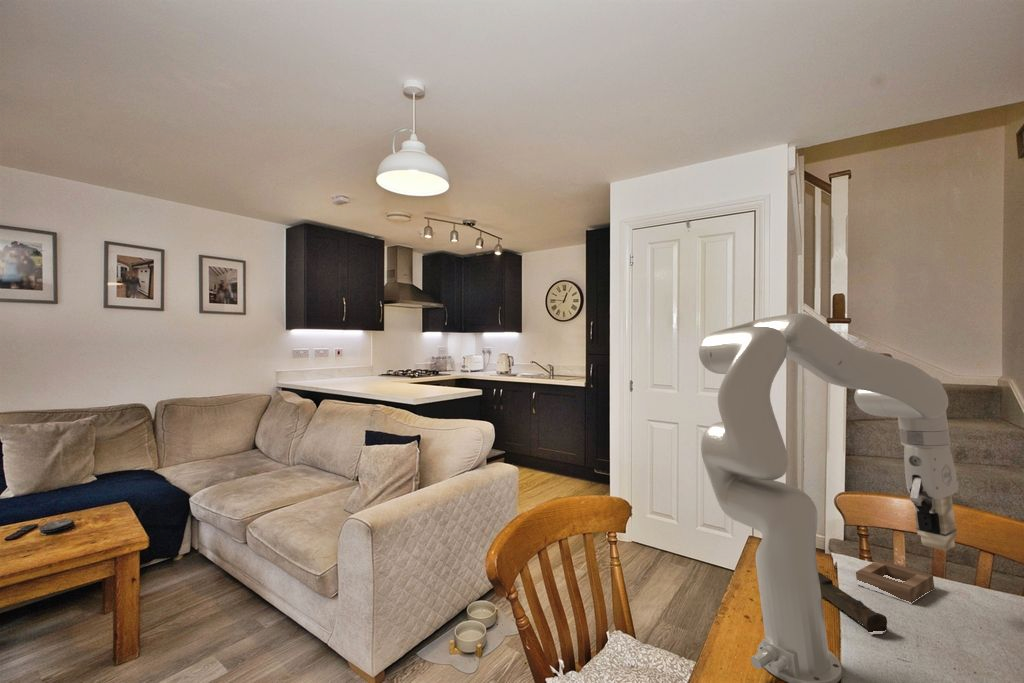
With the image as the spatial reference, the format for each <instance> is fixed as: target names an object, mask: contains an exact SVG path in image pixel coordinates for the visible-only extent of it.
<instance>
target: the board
mask: <svg viewBox="0 0 1024 683" xmlns="http://www.w3.org/2000/svg"><path fill="white" fill-rule="evenodd" d="M884 575H888V576H890V577H892V578H895V579H900V580H902V581H905V582H903V583H902V582H898V581H895V580H892V579H889V578H886V577H883V576H884ZM855 576H856V577H855V578H856V581H857V580H859V581H862V582H864V583H868V584H870V585H873V586H875V587H878V588H879V589H881V590H883V591H886V592H888V593H890V594H892V595H894V596H896V597H898V598H900V599H903V600H906V601H909V602H911V603H912V602H913V601H915V600H916V599H918V598H919V597H921V596H922V595H924V594H925V593H927V592H929V591H931V590H933V589H936V588H935V583H934V576H933V574H930V573H925V572H923V571H920V570H916V569H913V568H909V567H906V566H903V565H899V564H896V563H893V562H888V561H885V560H882V559H878V560H876V561H874V562H872V563H870V564H868V565H866V566H864V567H863V568H861V569H859V570H856V571H855ZM933 591H934V590H933Z"/></svg>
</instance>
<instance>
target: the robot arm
mask: <svg viewBox="0 0 1024 683" xmlns="http://www.w3.org/2000/svg"><path fill="white" fill-rule="evenodd" d="M698 355H699V360H700V362H701V364H702V365H703V367H704V368H706V370H708V371H710V372H712V373H714V374H719V375H724V377H723V379H722V382H721V384H720V386H719V389H718V394H717V406H718V411H719V415H720V418H721V421H719V422H714V423H713V424H711V425H709V427H707V429H706V430H705V431H704V433H703V435H702V438H701V444H700V450H701V456H702V457H701V458H702V461H703V464H704V467H705V470H706V473H707V475H708V478H709V481H710V484H711V487H712V489H713V492H714V496H715V498H716V501H717V503H718V506H719V507H720V509H721V510H722V511H723V513H724V514H725V515H726V516H727V517H729V519H732V520H734V521H735V522H737V523H740V524H741V525H744V526H747V527H750V528H752V529H754V530H756V531H758V532H760V533H761V536H762V537H761V540H760V543H759V545H758V547H757V548H756V552H755V566H756V573H757V582H758V591H759V597H760V605H761V614H762V621H763V622H762V623H763V629H764V630H763V631H764V638H762V641H760V643H759V644H758V646H757V653H756V654H754V655H752V656H751V657H750V662H751V664H752V666H753V667H754V668H755V669H756V670H761V669H762V668H764V669H766V670H767V672H769V673H770V674H772V675H773V676H775V677H776V678H778V679H780V680H782V681H784V682H787V683H839V682H840V680H841V679H842V676H843V669H842V665H841V664H842V663H841V662H840V660H839V659H838V657H837V656H836V655H835V654H834V653H833V652H832V651H830V650H829V645H828V638H827V637H828V636H827V630H826V624H825V615H824V607H823V599H822V598H821V590H820V583H819V576H818V572H819V571H818V570H819V569H818V561H817V549H816V546H817V545H816V544H817V542H816V541H817V533H818V532H817V530H818V521H819V518H818V515H819V514H818V510H817V506H816V505H815V502H814V500H813V499H812V498H811V497H810V496H809V494H807V493H806V492H804V490H801V488H798V487H796V486H794V485H792V484H787V483H784V482H781V481H777V480H778V479H781V478H782V477H784V476H785V474H786V473H787V471H788V469H789V456H788V452H787V448H786V445H785V443H784V442H785V441H784V439H783V436H782V434H781V429H780V427H779V424H778V422H777V419H776V415H775V413H774V410H773V405H772V403H771V390H772V385H773V382H774V380H775V378H776V376H777V374H778V371H779V370H780V368H781V367H782V365H783V363H784V361H785V360H786V359H789V360H791V361H793V362H794V363H796V364H798V365H800V366H801V367H802V368H804V369H805V370H807V371H809V372H811V373H812V374H813V375H815V376H816V377H818V378H819V379H821V380H822V381H824V382H826V383H827V384H831V385H834V386H839V387H842V388H847V389H851V390H855V391H854V396H853V398H854V402H855V404H856V406H857V407H858V409H859V410H861V411H862V412H864V413H866V414H868V415H871V416H875V417H885V418H886V417H887V418H897V422H898V431H899V438H900V444H901V446H903V449H904V450H903V457H904V460H903V461H904V465H903V466H904V477H905V482H906V489H907V492H908V493H909V494H910V496H909V500H910V502H911V503H913V506H914V505H915V510H916V511H917V518H918V525H919V530H921V531H925V532H929V533H933V534H940V525H939V518H938V514H937V513H935V499H937V500H939V499H942V498H944V497H947V496H949V495H951V496H952V495H954V494H956V493H957V492H958V491H959V481H958V477H957V472H956V467H955V466H956V465H955V460H954V458H953V454H952V451H951V439H950V431H949V423H948V417H947V415H948V414H947V409H948V408H949V397H948V394H947V391H946V390H945V388H944V386H943V383H942V381H941V380H940V379H938V378H936V377H932V376H931V375H930V374H929V373H927V372H926V371H924V370H923V369H921V368H920V367H918V366H916V365H914V364H912V363H909V362H907V361H904V360H901V359H898V358H895V357H893V356H892V357H891V356H888V355H885V354H882V353H879V352H875V351H873V350H868V349H866V348H862V347H858V346H857V345H855V344H853V343H852V342H851V341H849V340H848V339H846V338H845V337H843V336H842V335H841V334H839V333H837V332H836V331H835V330H833V329H832V328H830V327H829V326H828V325H826V324H825V323H823V322H822V321H820V320H818V319H817V318H816V317H813V316H811V315H809V314H807V313H798V312H797V313H788V314H782V315H776V316H769V317H768V316H767V317H764V318H759V319H755V320H750V321H748V322H746V323H743V324H739V325H736V326H732V327H728V328H724V329H721V330H720V329H719V330H716V331H713V332H711V333H710V334H708V335H706V336H705V337H704V338H703V340H702V341H701V342H700V345H699V349H698ZM922 493H927V494H928V496H923V495H922ZM923 499H927V500H929V505H928V503H927V502H926V501H923ZM915 510H914V511H915Z"/></svg>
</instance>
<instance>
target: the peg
mask: <svg viewBox="0 0 1024 683" xmlns="http://www.w3.org/2000/svg"><path fill="white" fill-rule="evenodd" d="M922 495H923V496H928V494H927V493H922ZM952 497H953V496H952V495H949V496H947V497H944V498H942V499H939V500H937V499H935V513H937V514H938V518H939V525H940V534H933V533H929V532H925V531H921V530H919V525H918V518H917V511H916V510H915V505H914V504H913V508H914V510H913V511H914V517H915V524H916V525H915V527H916V528H915V529H916V532H917V536H920V539H921V540H920V541H921V545H922V546H925V547H929V548H933V549H937V550H941V551H945V552H947V551H949V550H951V549H953V548H955V547H956V543H955V538H956V537H957V536H958V534H957V527H956V521H955V511H954V505H953V498H952ZM923 501H926V502H927V503H928V505H929V500H927V499H923Z"/></svg>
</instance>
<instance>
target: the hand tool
mask: <svg viewBox="0 0 1024 683" xmlns="http://www.w3.org/2000/svg"><path fill="white" fill-rule="evenodd" d="M818 576H819V583H820V590H821V598H822V600H824V601H829V602H830V603H832V604H833V605H834V606H835V607H836V608H838V609H840V610H841V611H842V610H843V611H842V612H844V613H845V614H846V615H848V616H849V617H850V616H851V618H852V617H853V618H854V619H853V618H852V619H853V620H854V621H856V620H857V621H859V622H860V623H861V624H863V625H864V626H865V628H866V632H867V631H868V632H873V631H885V630H887V629H888V619H887V617H886V616H885V615H884V614H883V613H880V612H876V611H874V610H872V609H871V608H870V607H868V606H867V605H866V604H864V603H863V602H862V600H858V599H856V598H854V597H853V596H851V595H850V594H848V593H846V592H845V591H844V590H842V589H840V588H839V587H838V586H837V585H835V584H833V583H834V582H833V580H832V579H831V578H830V577H828V576H826V574H823V573H821V572H820V571H818ZM857 621H856V622H857ZM859 622H858V623H859ZM860 623H859V624H860ZM861 624H860V625H861ZM863 625H862V626H863ZM864 626H863V627H864ZM868 632H867V633H868Z"/></svg>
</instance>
